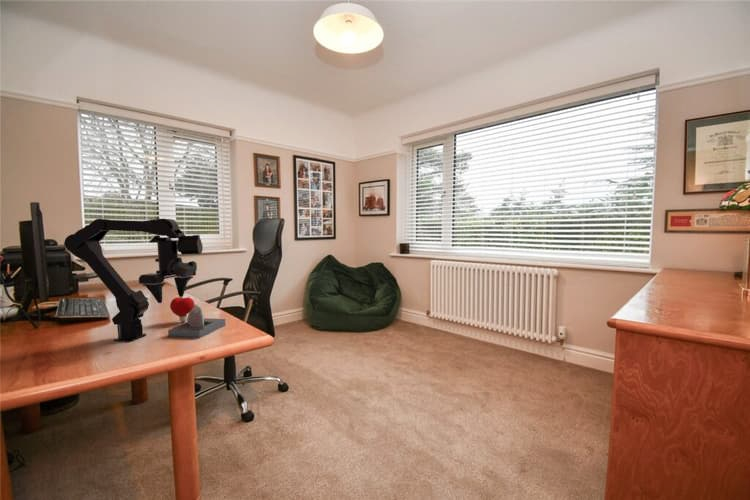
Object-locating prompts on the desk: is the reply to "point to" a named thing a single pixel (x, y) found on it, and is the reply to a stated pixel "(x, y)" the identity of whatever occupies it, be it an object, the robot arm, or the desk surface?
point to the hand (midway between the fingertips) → (171, 299)
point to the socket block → (196, 329)
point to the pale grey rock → (196, 317)
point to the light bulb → (182, 307)
